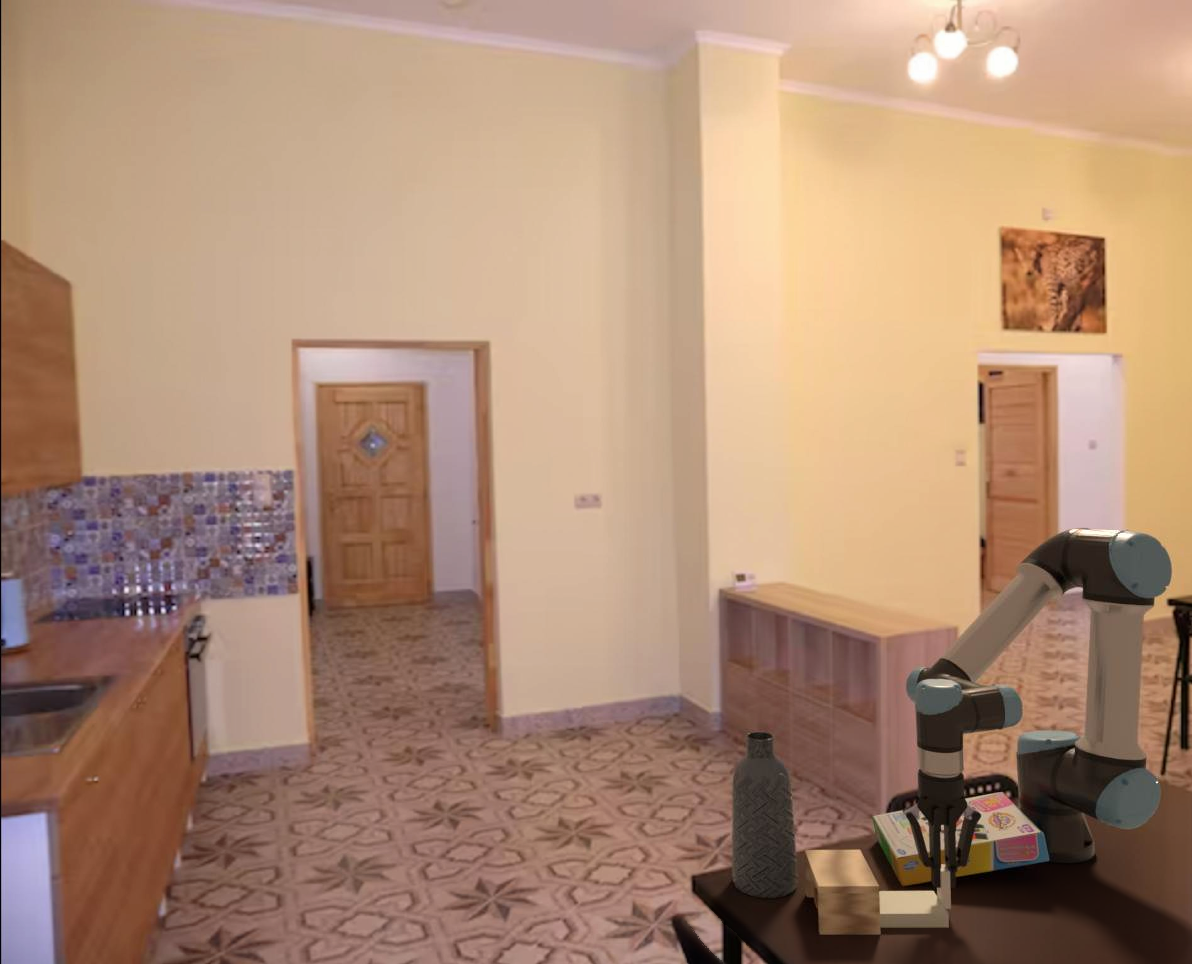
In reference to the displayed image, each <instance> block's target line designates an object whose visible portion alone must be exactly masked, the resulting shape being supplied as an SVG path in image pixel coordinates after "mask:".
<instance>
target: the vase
mask: <svg viewBox="0 0 1192 964" xmlns="http://www.w3.org/2000/svg"><path fill="white" fill-rule="evenodd" d="M745 738H746V754H745V755H744V756H742V757H741V759H739V760H738V762H737V764H736V765H735V768H734V771H733V776H732V785H731V786H732V787H731V789H732V791H731V796H732V797H731V799H732V800H731V801H732V802H731V803H732V805H731V806H732V807H731V809H732V811H731V813H732V816H731V819H732V820H731V822H732V823H731V825H732V826H731V827H732V831H731V832H732V833H731V838H732V839H731V841H732V842H731V853H732V854H731V859H732V860H731V863H732V865H731V869H732V870H731V874H732V882H733V885H734V886H735V888H736V889H737V890H739V892H742V893H743V894H746V895H749V896H751V897H755V898H764V899H773V898H774V899H775V898H780V897H786V896H787V895H790V894H792V893H793V892H794V891H796V889H797V885H798V882H799V879H798V878H799V875H798V873H799V872H798V863H797V862H798V861H797V845H796V833H795V831H796V830H795V818H794V816H795V815H794V805H793V804H794V803H793V802H794V801H793V790H792V780H791V776H790V773H789V769H788V767H787V766H786V764H785V763H784V761H782V759H781V758H779V757H778V756H777V755H775V736H774V734H772V733H769V732H766V731H765V732H764V731H754V732H749V733H748V734H746V737H745Z"/></svg>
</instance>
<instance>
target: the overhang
mask: <svg viewBox="0 0 1192 964" xmlns="http://www.w3.org/2000/svg"><path fill="white" fill-rule="evenodd" d="M804 867H805V868H804V870H805V871H804V873H805V894H806V897H807V898H813V899H814V901H813V902H814V904H815V907H816V909H817V913H818V914H817V915H818V916H817V917H818V919H817V920H818V933H819V935H824V936H825V935H833V936H834V935H845V936H847V935H859V936H861V935H867V936H868V935H869V936H872V935H881V934H882V933H881V930H882V929H881V928H880V898H879V891H880V885H879V883H878V881H877V879H876V877H875V875H874V874H873V871H872V869H871V868H870V865H869V864H868V862H867V861H866V858H865V857H864V855H863V853H862V851H861V849H804Z"/></svg>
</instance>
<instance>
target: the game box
mask: <svg viewBox="0 0 1192 964" xmlns="http://www.w3.org/2000/svg"><path fill="white" fill-rule="evenodd" d="M965 800H966V801H967V805H968V806H970V807H974V808H976V810H977V811H978V812H979V813H980V814H981V818H980V820H979V821H978V823H977V824H976V826H975V830H974V834H973V839H972V843H971V848H970V852H969V857H968V861H967V865H966V866H965V867H962V866H960V867H958V868H957V869H958V871H957V872H956V878H957V877H964V876H969V875H977V874H981V873H988V872H993V871H998V870H1005V869H1009V868H1016V867H1021V866H1022V867H1023V866H1028V865H1034V864H1038V863H1039V864H1040V863H1045V862H1049V855H1048V851H1047V846H1046V841H1045V836H1044V833H1043V832H1042V831H1041V830H1040V829H1039V828H1037V827H1036V826H1035V825H1034V824H1033V823H1032V821H1030V820H1029V819H1028V818H1027V817H1026V816H1025V815H1024V814H1023V813H1022V812H1021V811H1020V810H1019V809H1018V806H1017V805H1016V804H1014V802H1013V800H1011V798H1009V797H1008V796H1007V795H1006V793H1005V792H1003V791H1000V792H999V791H998V792H993V793H988V794H982V795H977V796H973V797H967V798H966V797H965ZM919 816H920V818H919V820H917V821H918V822H919V824H920V827H921V831H922V834H923V838H924V841H925V845H926V849H927V852H928V856H929V857H930V849H929V825H928V820H927V819H926V818H925V816H924V815H923V814H922V812H921V811H920V812H919ZM871 817H872V822H873V827H874V830H875V835H876V840H877V842H878V843H879V845H880V847H881V849H882V851H883V853H884V854H885V856H886V859H887V860H888V861H887V862H889V864H890V866H891V868H892V870H893V872H894V874H895V876H896V878H897V879H898V882H899V883H900V885H901V886H902V887H906V886H907V887H908V886H913V885H914V886H915V885H918V884H923V883H930V882H931V867H925V866H924V865H923V863H922V862H921V860H920V858H919V855H918V851H917V848H916V844H915V840H914V837H913V833H912V830H911V826H910V823H909V820H908V819H907V817H906V816H905V815H904V813H903V809H902V810H897V811H892V812H887V813H881V814H875V815H872V816H871ZM963 820H964V813H963V814H962V815H961V817H960V818H959V820H958V821H957V822H956V832H955V834H956V850H957V846H958V841H959V837H960V833H961V828H962V824H963ZM940 839H941V864H945V865H946V863H945V851H944V825H941V832H940Z"/></svg>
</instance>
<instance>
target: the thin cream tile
mask: <svg viewBox="0 0 1192 964" xmlns="http://www.w3.org/2000/svg"><path fill="white" fill-rule="evenodd" d="M879 898H880V929H881V928H884V929H885V928H887V929H889V928H893V929H895V928H950V925H949V924H950V923H949V922H950V921H949V920H950V919H949V916H950V915H949V912H948V911H947V909H945V908H944V906H943V904H942V903H941V901H940V900H939V898H938V897H937V893H935V891H934V890H879Z"/></svg>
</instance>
